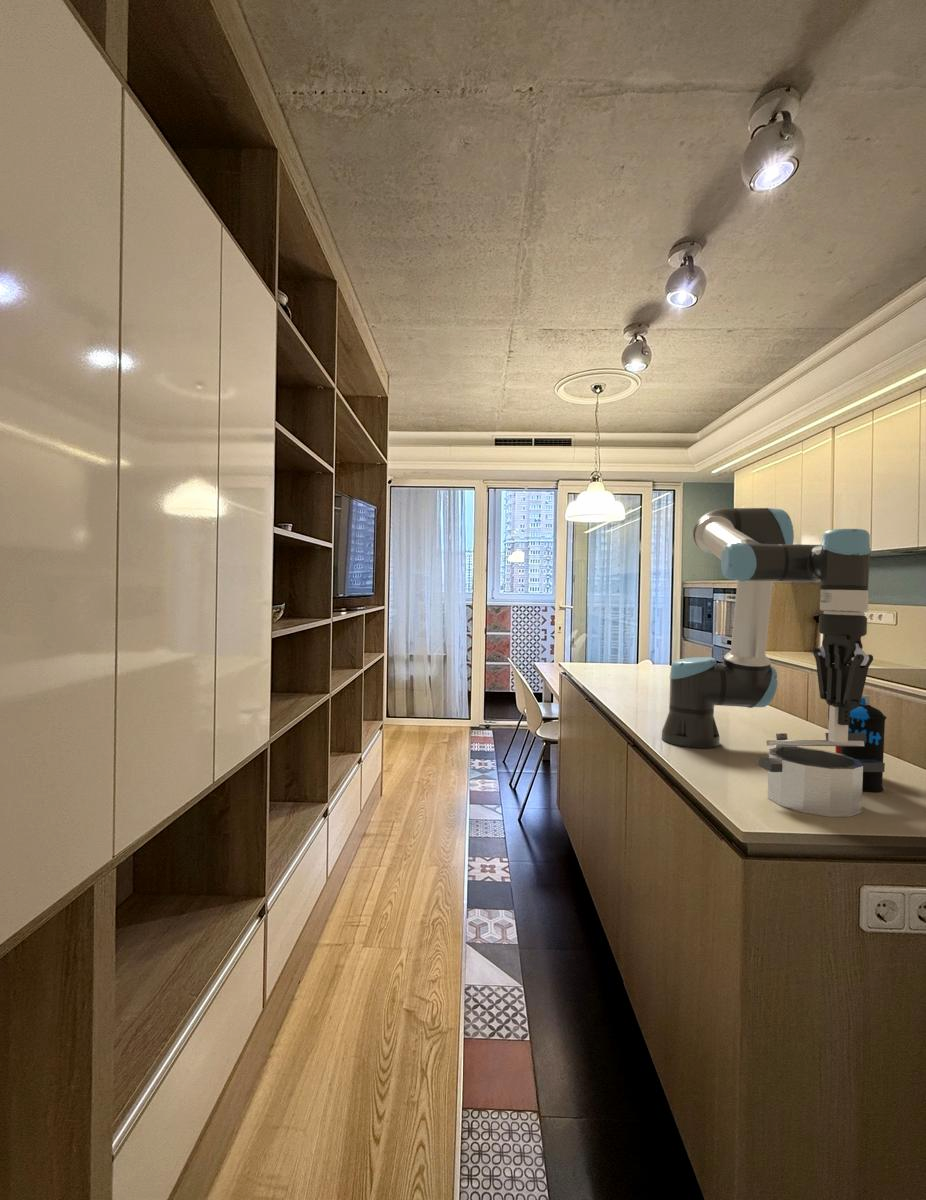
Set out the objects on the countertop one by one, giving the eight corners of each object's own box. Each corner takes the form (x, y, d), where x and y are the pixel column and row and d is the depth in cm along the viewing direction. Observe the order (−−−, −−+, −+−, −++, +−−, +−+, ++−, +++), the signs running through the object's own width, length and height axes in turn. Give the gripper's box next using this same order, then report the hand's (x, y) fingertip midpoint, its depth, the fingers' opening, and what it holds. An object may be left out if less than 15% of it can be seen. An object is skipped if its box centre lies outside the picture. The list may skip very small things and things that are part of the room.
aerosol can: (844, 778, 139) (847, 690, 138) (887, 787, 133) (891, 696, 133) (834, 785, 133) (837, 694, 133) (878, 795, 127) (882, 700, 127)
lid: (749, 745, 130) (748, 732, 130) (833, 746, 131) (832, 734, 132) (799, 745, 113) (798, 731, 113) (896, 746, 114) (894, 732, 115)
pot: (738, 786, 130) (739, 744, 130) (844, 786, 132) (846, 745, 132) (788, 816, 113) (789, 768, 113) (910, 816, 115) (912, 769, 115)
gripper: (801, 611, 118) (796, 732, 118) (848, 614, 105) (843, 750, 105) (837, 612, 118) (833, 733, 119) (889, 615, 105) (884, 750, 106)
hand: (837, 741), depth 112 cm, fingers closed
